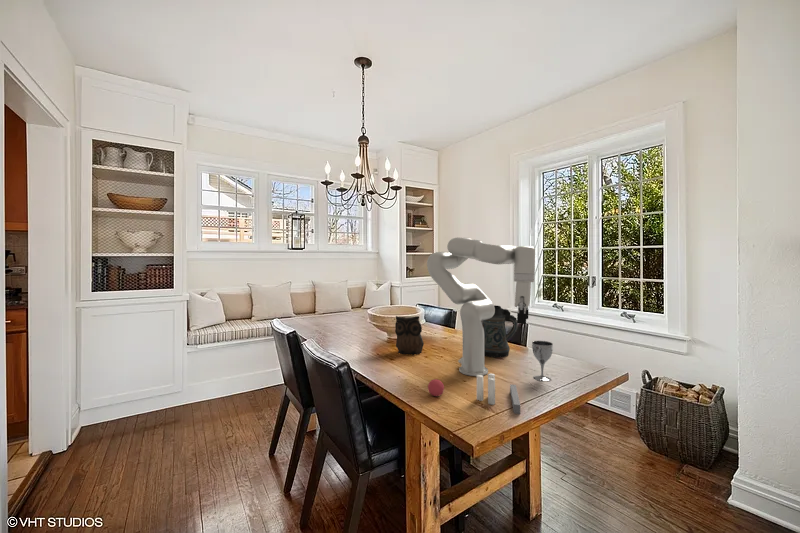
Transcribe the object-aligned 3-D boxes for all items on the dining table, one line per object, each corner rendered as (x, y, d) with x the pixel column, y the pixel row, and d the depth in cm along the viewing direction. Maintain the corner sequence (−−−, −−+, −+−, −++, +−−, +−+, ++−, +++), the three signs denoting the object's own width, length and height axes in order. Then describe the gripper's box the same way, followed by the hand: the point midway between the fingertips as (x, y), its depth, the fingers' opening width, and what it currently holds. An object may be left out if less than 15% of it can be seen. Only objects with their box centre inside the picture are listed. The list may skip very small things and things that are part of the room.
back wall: (520, 414, 115) (520, 405, 115) (513, 413, 116) (513, 404, 116) (515, 392, 133) (515, 384, 133) (510, 392, 133) (510, 384, 133)
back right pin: (486, 402, 124) (486, 379, 124) (491, 401, 125) (491, 377, 125) (491, 405, 122) (491, 381, 122) (496, 403, 123) (496, 379, 123)
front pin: (475, 399, 128) (475, 375, 127) (480, 397, 129) (480, 374, 128) (479, 401, 126) (479, 377, 125) (484, 399, 127) (484, 376, 126)
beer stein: (473, 349, 193) (473, 303, 192) (508, 348, 194) (508, 303, 193) (482, 358, 176) (482, 308, 175) (520, 357, 178) (520, 307, 177)
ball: (424, 394, 132) (424, 378, 132) (437, 391, 135) (437, 375, 135) (434, 400, 127) (434, 383, 127) (447, 396, 130) (447, 380, 130)
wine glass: (540, 382, 142) (540, 346, 142) (528, 376, 150) (528, 341, 150) (556, 380, 145) (557, 344, 144) (544, 374, 152) (544, 340, 152)
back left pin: (486, 397, 129) (486, 374, 129) (491, 395, 130) (491, 373, 130) (491, 399, 127) (491, 376, 127) (496, 397, 128) (496, 374, 128)
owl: (424, 353, 185) (424, 316, 185) (403, 357, 179) (403, 318, 179) (412, 348, 196) (412, 312, 196) (392, 351, 191) (392, 314, 190)
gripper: (516, 275, 147) (515, 316, 148) (511, 279, 131) (510, 324, 132) (535, 276, 144) (534, 318, 145) (532, 280, 128) (531, 326, 129)
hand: (522, 321), depth 138 cm, fingers open, 9 cm apart
